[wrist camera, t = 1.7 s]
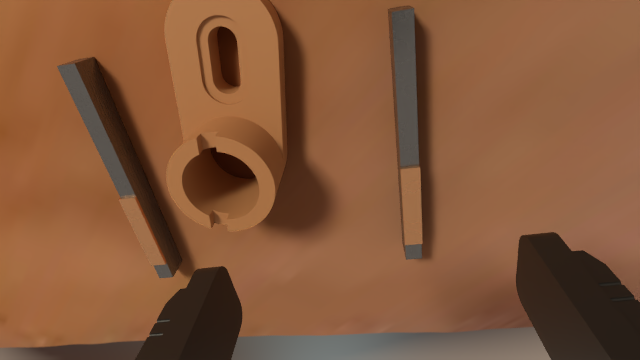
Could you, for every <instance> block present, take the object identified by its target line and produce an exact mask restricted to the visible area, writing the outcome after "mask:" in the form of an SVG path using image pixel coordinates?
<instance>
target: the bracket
mask: <svg viewBox="0 0 640 360" xmlns="http://www.w3.org/2000/svg"><path fill="white" fill-rule="evenodd" d="M220 26H223V27H226V28H228V29H230V30H231V31H232V32H233V33H234V35H235V37H236V39H237V46H238V56H239V67H240V78H241V85H240V86H232V85H229V84H228V83H227V82H226V81H225V80H224V79H223V76H222V72H221V63H220V55H219V47H218V38H217V33H218V30H219V28H220ZM164 33H165V42H166V47H167V53H168V58H169V64H170V69H171V75H172V80H173V85H174V91H175V96H176V102H177V107H178V112H179V118H180V123H181V129H182V134H183V140H184V142H183V143H182V144H181V145H180V147H179V148H178V149H177V150H176V151H175V152H174V153H173V155H172V156H171V158H170V160H169V162H168V165H167V170H166V182H167V187H168V190H169V193H170V195H171V197H172V199H173V201H174V202H175V204H176V205H177V206H178V208H179V209H180V210H181V211H182V212H183V213H184V214H185V215H186V216H188V217H189V218H190V219H192V220H193V221H195V222H197V223H198V224H200V225H203V226H205V227H207V228H210V229H211V228H212V227H213V225H214V223H217V224H222V225H227V228H228V231H240V230H245V229H248V228H251V227H253V226H255V225H257V224H258V223H259V222H261V221H262V220H263V219H264V218H265V217H266V216H267V215H268V213H269V212H270V210H271V208H272V206H273V203H274V200H275V197H276V194H277V191H278V187H279V184H280V181H281V178H282V175H283V172H284V169H285V165H286V162H287V155H288V149H287V122H286V94H285V67H284V39H283V30H282V25H281V22H280V19H279V16H278V14H277V12H276V10H275V8H274V7H273V5H272V4H271V2H270V1H269V0H172V2H171V4H170V6H169V8H168V11H167V14H166V18H165V27H164ZM211 147H216V149H217V152H222V153H227V154H230V155H232V156H235V157H237V158H238V159H240V160H241V161H243V162H244V163H245V164H246V165H248V166H249V168H250V169H251V170H252V171H253V173H254V174H255V176H256V177H255V178H238V177H235V176H232V175H230V174H228V173H227V172H225V171H224V170H223V169H221V168H220V167H219V165H218V164H217V163H216V161H215V160H214V158H213V156H212V153H211Z"/></svg>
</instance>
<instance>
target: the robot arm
mask: <svg viewBox="0 0 640 360" xmlns="http://www.w3.org/2000/svg"><path fill="white" fill-rule="evenodd" d="M516 286H517V292H518V295H519V299H520V301H521V303H522V306H523V307H524V309H525V311H526V313H527V315H528V317H529V319H530V321H531V322H532V324H533V326H534V328H535V330H536V332H537V334H538V336H539V337H540V339H541V341H542V343H543V345H544V347H545V349H546V351H547V352H548V354H549V356H550V358H551V360H640V302H639V301H638V300H635V299H634V296H633V295H632V293H631V292H630V291H629V290H628V289H627V288H626V287H625V286H624V285H621V281H620V280H619V279H618V278H617V277H616V276H615V274H614V273H613V272H612V271H611V270H610V269H609V268H608V267H607V266H606V264H604V263H603V262H601V261H599V260H598V259H596V258H594V257H593V256H591V255H590V254H588V253H586V252H585V251H583V250H582V251H571V250H570V249H569V247H568V246H567V245H566V244H565V242H564V241H563V240H562V239H561V237H560V236H559V235H558V234H556V233H554V232H550V233H541V234H532V235H523V236H521V237H520V240H519V248H518V261H517V273H516ZM241 324H242V307H241V303H240V301H239V298H238V296H237V293H236V291H235V288H234V286H233V283H232V281H231V278H230V276H229V273H228V271H227V269H226V268H225V267H223V266H221V267H212V268H202V269H197V270H196V271H195V272H194V274H193V276H192V278H191V280H190V282H189V284H188V286H187V288H185V289H180V290H179V291H178V292H177V293H176V294H175V295H174V296H173V297H172V298H171V299H170V300H169V301H168V302H167V303H166V304H165V306H164V308H163V310H162V312H161V314H160V315H159V317H158V319H157V323H155V325H154V326H153V328H152V330H151V332H150V336H149V337H147V339H146V341H145V343H144V345H143V346H142V348H141V350H140V352H139V354H138V355H137V358H136V359H135V360H231V358H232V354H233V351H234V348H235V344H236V341H237V338H238V335H239V331H240V328H241Z"/></svg>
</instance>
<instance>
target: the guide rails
mask: <svg viewBox="0 0 640 360" xmlns="http://www.w3.org/2000/svg"><path fill="white" fill-rule="evenodd" d="M388 17H389V33H390V49H391V65H392V81H393V97H394V113H395V129H396V145H397V161H398V177H399V193H400V209H401V225H402V241H403V247H404V252H405V257H406V259H419V258H422V244H423V241H422V208H421V175H420V166H419V149H418V118H417V86H416V55H415V23H414V8H413V7H411V6H403V7H396V8H390V9H388ZM57 67H58V69H59V71H60V74H61V76H62V78H63V80H64V82H65V84H66V86H67V88H68V90H69V92H70V94H71V96H72V98H73V100H74V102H75V104H76V107H77V109H78V111H79V113H80V115H81V117H82V119H83V121H84V123H85V125H86V127H87V129H88V131H89V133H90V135H91V137H92V140H93V142H94V144H95V146H96V148H97V150H98V152H99V154H100V156H101V158H102V160H103V162H104V164H105V166H106V168H107V170H108V172H109V175H110V177H111V179H112V181H113V183H114V185H115V187H116V189H117V191H118V193H119V195H120V197H121V198H120V199H119V202H120V204H121V206H122V208H123V210H124V212H125V214H126V216H127V218H128V220H129V222H130V224H131V226H132V228H133V230H134V232H135V234H136V236H137V238H138V240H139V242H140V244H141V246H142V249H143V251H144V253H145V255H146V257H147V259H148V261H149V263H150V265H151V266H153V265H154V267H155V269H156V271H157V274H158V276H159V278H167V277H173V276H174V274H175V273H176V271H177V269H178V268H179V266H180V264H181V262H182V259H181V257H180V254H179V252H178V250H177V248H176V245H175V243H174V241H173V238H172V236H171V234H170V231H169V229H168V227H167V224H166V222H165V220H164V217H163V215H162V213H161V211H160V208H159V206H158V204H157V201H156V199H155V197H154V194H153V192H152V190H151V187H150V185H149V183H148V181H147V178H146V176H145V174H144V171H143V169H142V167H141V164H140V162H139V160H138V157H137V155H136V153H135V151H134V148H133V146H132V144H131V141H130V139H129V137H128V134H127V132H126V130H125V127H124V125H123V123H122V121H121V118H120V116H119V114H118V111H117V109H116V107H115V104H114V102H113V100H112V97H111V95H110V93H109V91H108V88H107V86H106V84H105V81H104V79H103V77H102V74H101V72H100V70H99V67H98V65H97V63H96V61H95V58H94V57H91V58H85V59H79V60H75V61H72V62H69V63H66V64H62V65H59V66H57Z"/></svg>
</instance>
